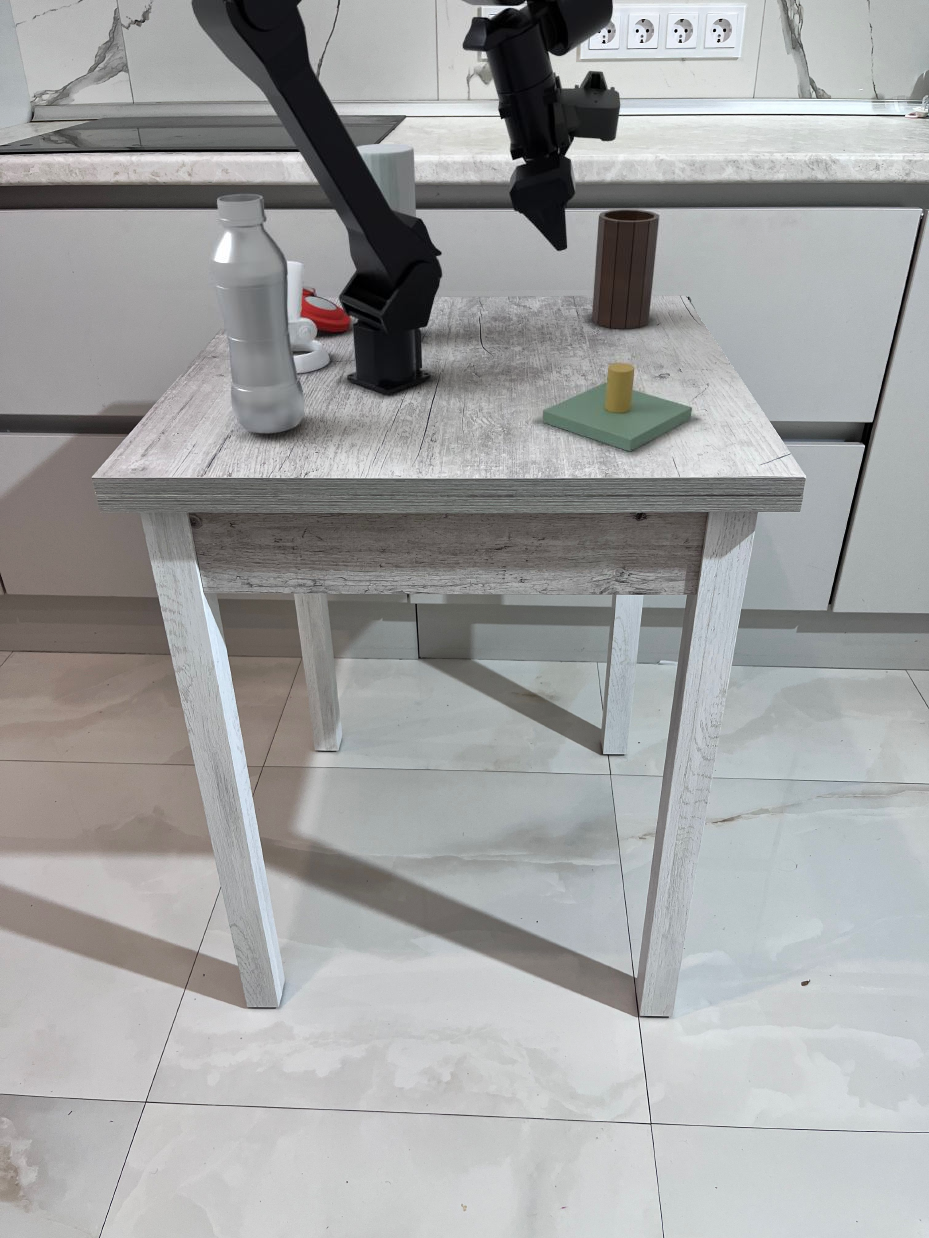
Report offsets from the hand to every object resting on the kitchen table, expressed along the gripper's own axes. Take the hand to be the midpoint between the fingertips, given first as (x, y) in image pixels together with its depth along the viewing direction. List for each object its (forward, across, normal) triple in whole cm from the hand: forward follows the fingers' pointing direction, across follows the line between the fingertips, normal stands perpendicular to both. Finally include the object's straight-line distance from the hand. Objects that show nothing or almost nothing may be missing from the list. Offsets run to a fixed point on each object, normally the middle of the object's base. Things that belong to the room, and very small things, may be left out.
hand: (562, 228), depth 102 cm
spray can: (+6, -4, +22) cm, 23 cm away
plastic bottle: (-3, -30, +27) cm, 41 cm away
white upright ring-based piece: (+1, -12, +30) cm, 33 cm away
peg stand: (+7, -27, -4) cm, 28 cm away
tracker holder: (+4, +1, +32) cm, 32 cm away
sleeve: (+15, +4, -4) cm, 16 cm away
